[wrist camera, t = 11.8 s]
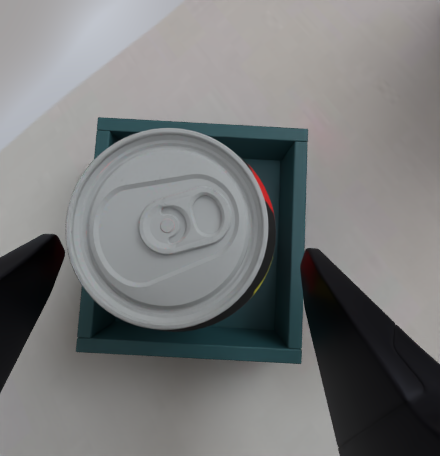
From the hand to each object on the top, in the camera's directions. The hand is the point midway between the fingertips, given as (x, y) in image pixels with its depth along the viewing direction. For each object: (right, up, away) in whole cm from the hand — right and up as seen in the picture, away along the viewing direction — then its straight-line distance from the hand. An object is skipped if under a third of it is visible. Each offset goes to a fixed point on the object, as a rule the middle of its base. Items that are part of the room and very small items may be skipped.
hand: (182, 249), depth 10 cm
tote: (0, 0, +10) cm, 10 cm away
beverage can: (0, 0, +9) cm, 9 cm away
